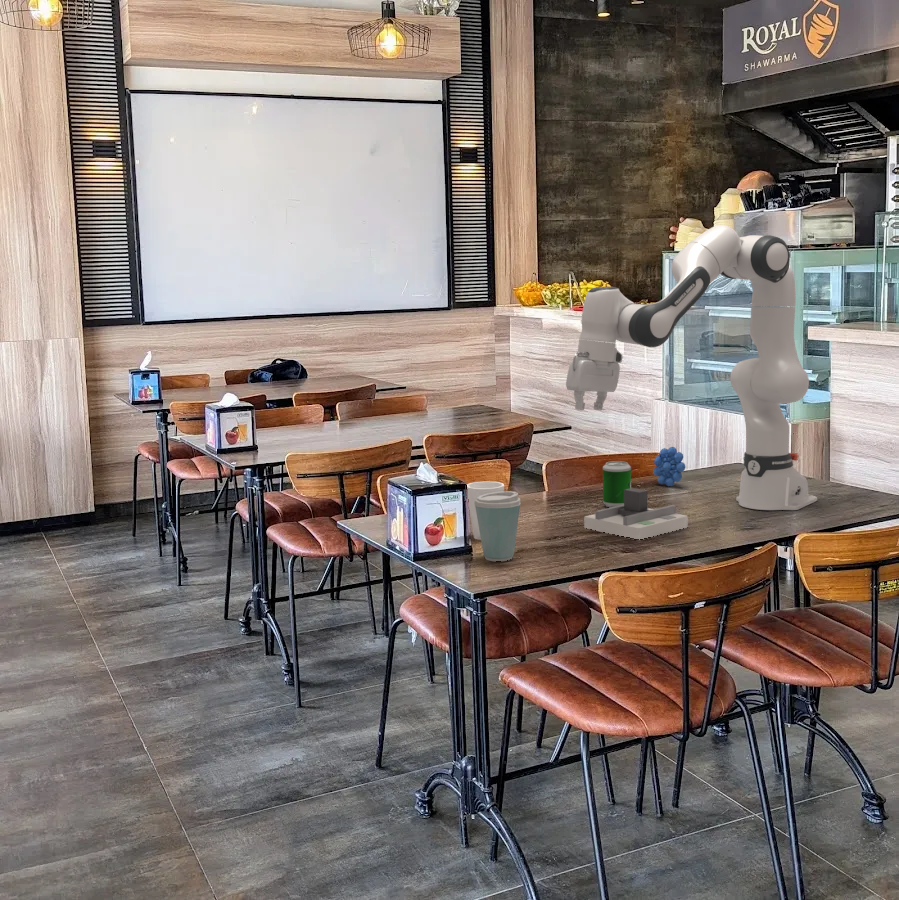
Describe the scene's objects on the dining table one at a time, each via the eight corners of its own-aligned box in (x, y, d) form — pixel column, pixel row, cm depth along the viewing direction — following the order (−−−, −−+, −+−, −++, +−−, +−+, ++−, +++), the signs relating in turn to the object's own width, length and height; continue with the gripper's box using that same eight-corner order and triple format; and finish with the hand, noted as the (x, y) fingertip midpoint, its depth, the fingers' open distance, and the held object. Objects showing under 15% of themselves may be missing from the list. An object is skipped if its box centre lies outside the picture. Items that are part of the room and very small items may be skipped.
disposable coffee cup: (476, 565, 247) (474, 499, 245) (474, 552, 258) (473, 489, 255) (523, 563, 247) (522, 498, 245) (520, 551, 258) (519, 488, 255)
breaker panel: (632, 516, 289) (632, 497, 288) (687, 527, 275) (687, 507, 275) (584, 528, 278) (584, 508, 277) (639, 540, 264) (639, 520, 263)
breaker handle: (631, 510, 280) (631, 486, 279) (653, 515, 275) (653, 490, 274) (618, 514, 277) (618, 489, 276) (639, 518, 272) (639, 493, 271)
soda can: (630, 509, 297) (630, 465, 295) (602, 509, 299) (601, 465, 297) (631, 503, 304) (631, 460, 302) (604, 503, 306) (603, 460, 304)
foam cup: (467, 532, 277) (466, 481, 275) (504, 532, 277) (503, 480, 275) (467, 542, 268) (465, 489, 266) (505, 541, 268) (504, 488, 265)
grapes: (694, 487, 323) (694, 446, 321) (679, 490, 319) (679, 449, 317) (663, 481, 333) (663, 442, 331) (648, 485, 328) (648, 445, 326)
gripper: (586, 352, 258) (579, 411, 260) (625, 356, 275) (619, 411, 277) (563, 350, 262) (556, 408, 264) (603, 353, 279) (596, 408, 280)
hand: (588, 409), depth 270 cm, fingers open, 8 cm apart
